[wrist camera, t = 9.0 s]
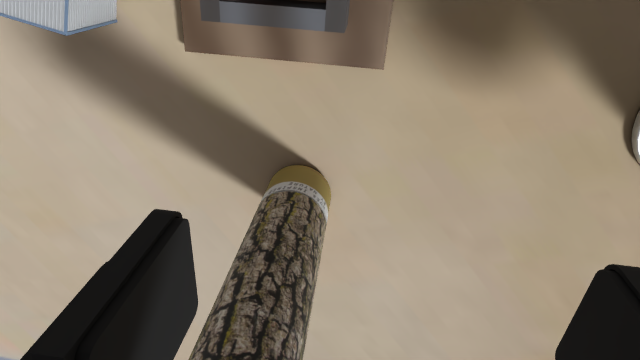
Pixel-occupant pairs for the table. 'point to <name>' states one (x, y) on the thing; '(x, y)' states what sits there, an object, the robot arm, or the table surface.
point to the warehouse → (61, 14)
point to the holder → (290, 30)
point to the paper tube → (272, 275)
